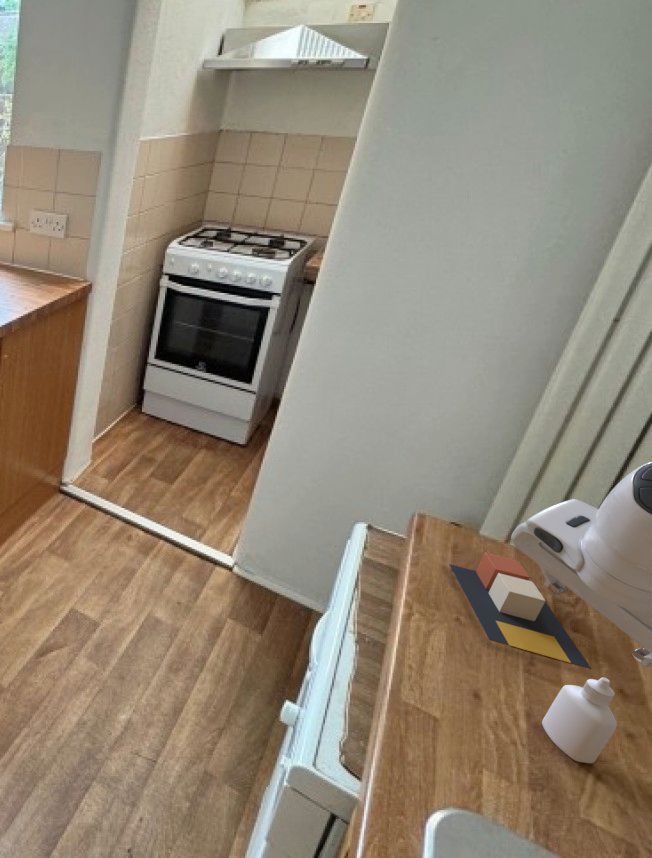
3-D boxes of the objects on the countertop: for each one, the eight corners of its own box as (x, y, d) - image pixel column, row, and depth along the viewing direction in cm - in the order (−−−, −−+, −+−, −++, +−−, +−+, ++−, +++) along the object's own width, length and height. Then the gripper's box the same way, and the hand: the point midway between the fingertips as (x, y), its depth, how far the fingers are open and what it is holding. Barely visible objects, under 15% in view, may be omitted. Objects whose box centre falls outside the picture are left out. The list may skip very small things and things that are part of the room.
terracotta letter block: (507, 579, 106) (517, 559, 105) (519, 597, 102) (529, 577, 101) (475, 571, 108) (484, 551, 106) (485, 588, 104) (495, 568, 103)
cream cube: (522, 601, 102) (532, 581, 100) (534, 621, 98) (545, 600, 96) (488, 592, 103) (498, 572, 102) (499, 611, 100) (509, 591, 98)
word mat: (533, 588, 105) (535, 585, 105) (590, 672, 90) (592, 669, 90) (447, 566, 110) (449, 563, 110) (488, 642, 95) (490, 639, 94)
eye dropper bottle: (584, 736, 81) (624, 673, 76) (594, 771, 77) (638, 706, 72) (539, 717, 83) (575, 654, 79) (547, 749, 79) (586, 686, 75)
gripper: (796, 647, 58) (734, 698, 66) (559, 488, 75) (533, 544, 83) (735, 674, 58) (681, 721, 66) (512, 509, 75) (491, 563, 83)
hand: (597, 621), depth 75 cm, fingers open, 8 cm apart
